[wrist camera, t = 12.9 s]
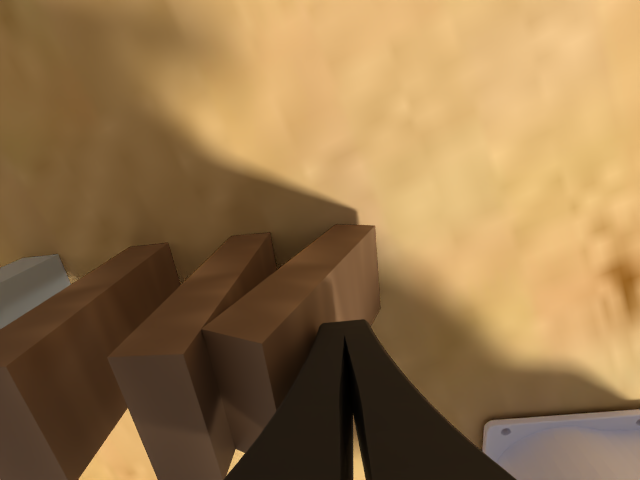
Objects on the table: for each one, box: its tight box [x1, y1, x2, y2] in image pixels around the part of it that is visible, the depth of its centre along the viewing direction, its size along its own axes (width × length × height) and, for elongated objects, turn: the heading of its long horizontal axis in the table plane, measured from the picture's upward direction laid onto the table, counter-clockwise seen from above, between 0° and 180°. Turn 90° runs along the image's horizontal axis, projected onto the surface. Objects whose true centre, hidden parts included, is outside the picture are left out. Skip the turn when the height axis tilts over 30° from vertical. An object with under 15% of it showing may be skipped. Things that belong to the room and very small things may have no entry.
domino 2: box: [107, 233, 277, 480], centre depth 11 cm, size 2×4×8 cm, turn 7°
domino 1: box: [201, 224, 381, 453], centre depth 11 cm, size 2×4×8 cm, turn 8°
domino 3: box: [0, 243, 180, 480], centre depth 12 cm, size 2×4×8 cm, turn 7°
